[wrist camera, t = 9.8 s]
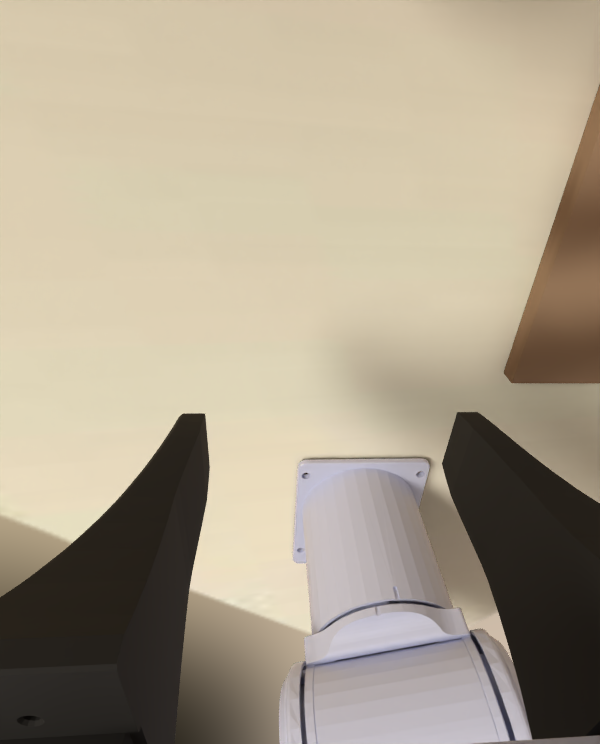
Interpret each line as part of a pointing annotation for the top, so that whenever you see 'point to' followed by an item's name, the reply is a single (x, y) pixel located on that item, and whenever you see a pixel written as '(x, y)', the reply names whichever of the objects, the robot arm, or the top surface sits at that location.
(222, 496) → the top surface
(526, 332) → the board
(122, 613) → the robot arm
